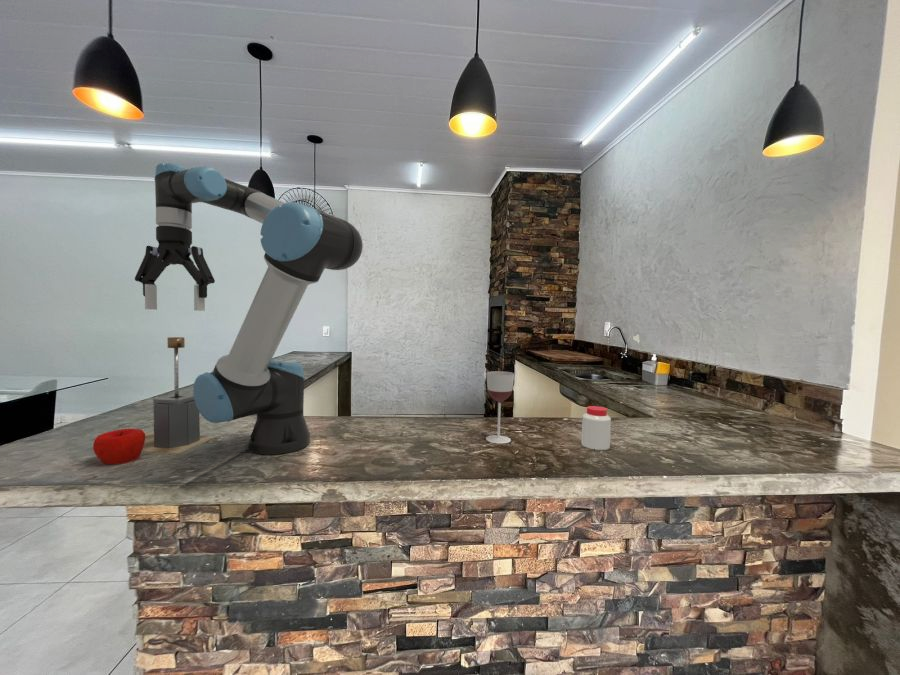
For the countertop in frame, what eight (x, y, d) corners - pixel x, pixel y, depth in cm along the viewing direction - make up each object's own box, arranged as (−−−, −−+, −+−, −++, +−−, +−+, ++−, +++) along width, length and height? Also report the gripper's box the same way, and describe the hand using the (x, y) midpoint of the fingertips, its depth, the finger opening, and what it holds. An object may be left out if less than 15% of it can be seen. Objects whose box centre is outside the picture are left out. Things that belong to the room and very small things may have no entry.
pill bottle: (580, 447, 106) (582, 409, 105) (581, 439, 113) (583, 404, 112) (610, 451, 103) (611, 412, 102) (609, 443, 110) (611, 406, 109)
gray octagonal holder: (213, 434, 105) (212, 392, 105) (179, 448, 93) (178, 401, 93) (181, 432, 106) (181, 391, 105) (144, 446, 94) (143, 400, 94)
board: (216, 440, 104) (216, 436, 104) (178, 458, 91) (178, 453, 91) (143, 436, 105) (143, 432, 105) (96, 452, 93) (96, 448, 92)
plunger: (197, 408, 101) (197, 337, 100) (178, 415, 95) (177, 338, 94) (175, 407, 102) (174, 336, 101) (154, 413, 95) (153, 337, 94)
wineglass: (516, 438, 113) (518, 372, 112) (504, 445, 105) (506, 376, 104) (492, 433, 117) (494, 370, 116) (479, 440, 110) (481, 373, 109)
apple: (87, 475, 80) (87, 439, 79) (101, 461, 88) (101, 428, 87) (140, 468, 84) (140, 434, 84) (149, 455, 92) (149, 424, 92)
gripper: (229, 231, 99) (229, 311, 100) (142, 231, 101) (144, 309, 102) (209, 224, 91) (209, 310, 92) (115, 224, 93) (117, 308, 94)
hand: (175, 310), depth 97 cm, fingers open, 13 cm apart
